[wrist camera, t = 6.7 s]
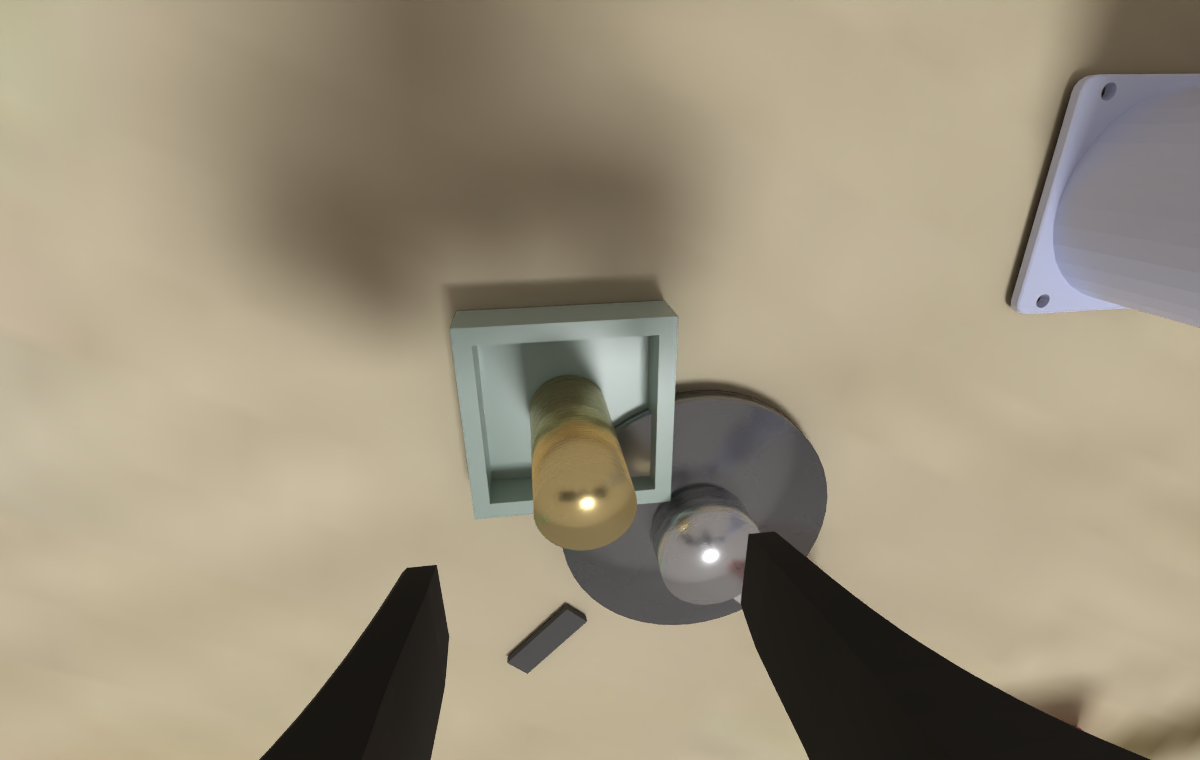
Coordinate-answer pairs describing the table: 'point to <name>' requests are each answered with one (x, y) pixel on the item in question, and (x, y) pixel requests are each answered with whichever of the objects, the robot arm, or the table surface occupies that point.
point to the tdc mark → (547, 639)
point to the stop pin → (578, 466)
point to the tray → (543, 351)
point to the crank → (702, 544)
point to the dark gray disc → (700, 459)
